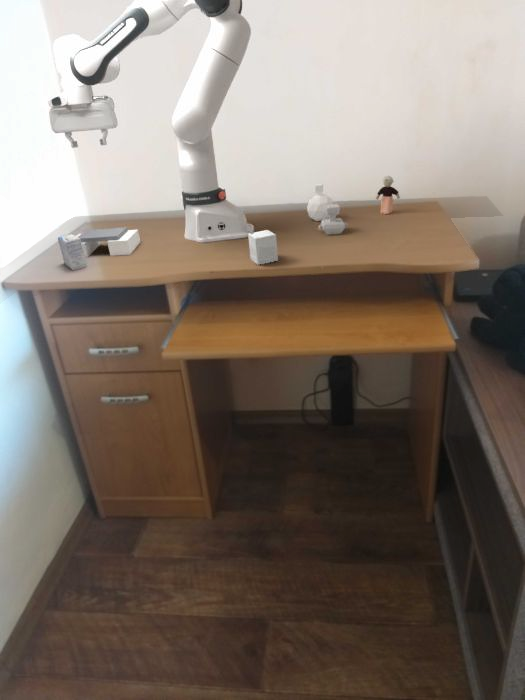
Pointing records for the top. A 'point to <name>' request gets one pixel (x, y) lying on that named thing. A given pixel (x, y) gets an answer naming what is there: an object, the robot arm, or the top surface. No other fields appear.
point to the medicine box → (72, 251)
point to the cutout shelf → (110, 240)
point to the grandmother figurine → (387, 195)
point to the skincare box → (263, 247)
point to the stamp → (332, 221)
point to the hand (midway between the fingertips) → (89, 146)
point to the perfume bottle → (319, 204)
